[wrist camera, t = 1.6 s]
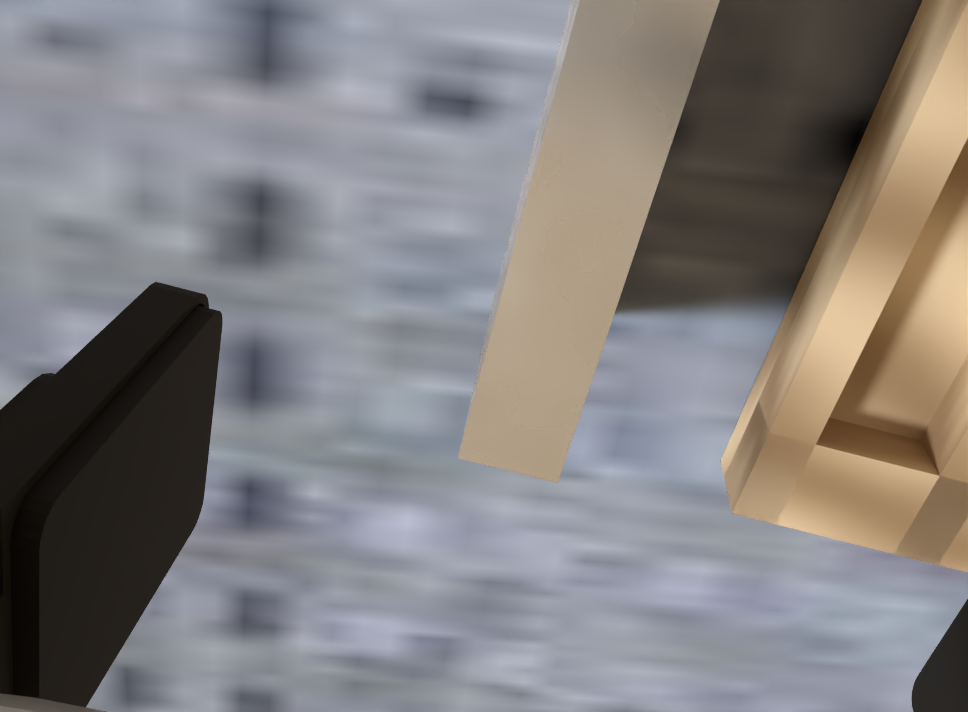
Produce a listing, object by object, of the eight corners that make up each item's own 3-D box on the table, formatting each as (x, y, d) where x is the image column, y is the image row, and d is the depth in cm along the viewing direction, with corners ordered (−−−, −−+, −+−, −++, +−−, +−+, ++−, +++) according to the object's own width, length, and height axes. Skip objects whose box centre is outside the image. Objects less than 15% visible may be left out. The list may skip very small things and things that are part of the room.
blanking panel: (617, -178, 24) (631, -195, 16) (713, -152, 24) (778, -156, 16) (493, 295, 31) (458, 458, 23) (569, 315, 31) (561, 484, 23)
